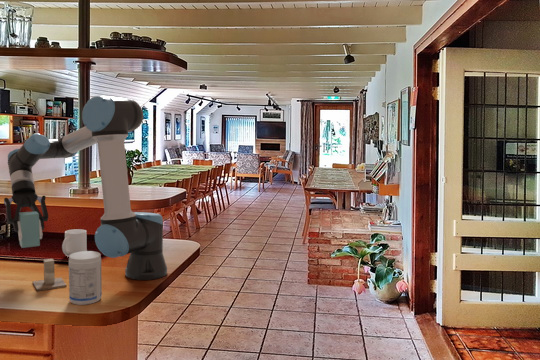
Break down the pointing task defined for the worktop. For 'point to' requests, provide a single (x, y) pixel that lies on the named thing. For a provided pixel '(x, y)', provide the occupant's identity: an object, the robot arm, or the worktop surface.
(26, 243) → the tall teal pillar
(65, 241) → the mug
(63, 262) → the worktop surface
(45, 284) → the grey pedestal stand
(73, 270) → the supplement tub
